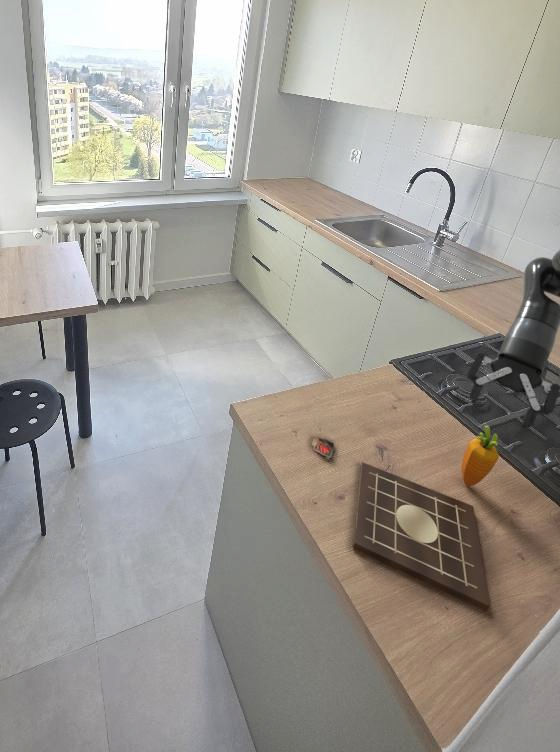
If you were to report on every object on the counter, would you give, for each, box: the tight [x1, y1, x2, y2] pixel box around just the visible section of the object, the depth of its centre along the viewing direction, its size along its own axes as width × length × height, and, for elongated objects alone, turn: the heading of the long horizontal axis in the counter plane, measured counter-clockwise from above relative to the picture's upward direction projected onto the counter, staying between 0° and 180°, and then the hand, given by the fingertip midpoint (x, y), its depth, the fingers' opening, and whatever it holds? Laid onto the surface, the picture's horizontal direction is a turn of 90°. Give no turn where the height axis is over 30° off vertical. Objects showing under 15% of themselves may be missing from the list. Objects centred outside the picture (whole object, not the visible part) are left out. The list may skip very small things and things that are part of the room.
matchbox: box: [311, 437, 335, 461], centre depth 92 cm, size 5×5×1 cm
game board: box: [352, 461, 491, 612], centre depth 77 cm, size 20×18×2 cm
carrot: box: [461, 425, 500, 487], centre depth 83 cm, size 5×5×15 cm
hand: (497, 414), depth 84 cm, fingers open, 8 cm apart
